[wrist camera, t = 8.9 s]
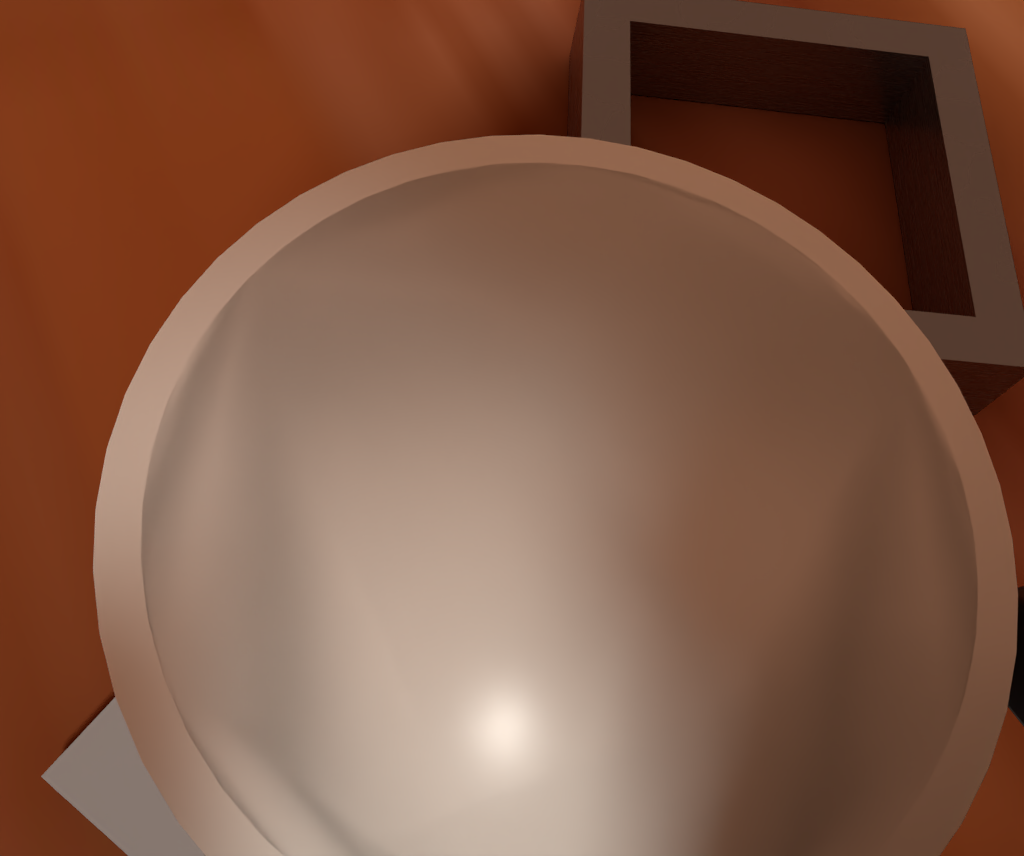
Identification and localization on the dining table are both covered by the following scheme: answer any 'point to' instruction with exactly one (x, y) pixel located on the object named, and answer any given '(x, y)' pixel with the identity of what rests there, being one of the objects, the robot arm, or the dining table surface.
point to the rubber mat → (118, 790)
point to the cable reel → (552, 528)
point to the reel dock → (850, 95)
